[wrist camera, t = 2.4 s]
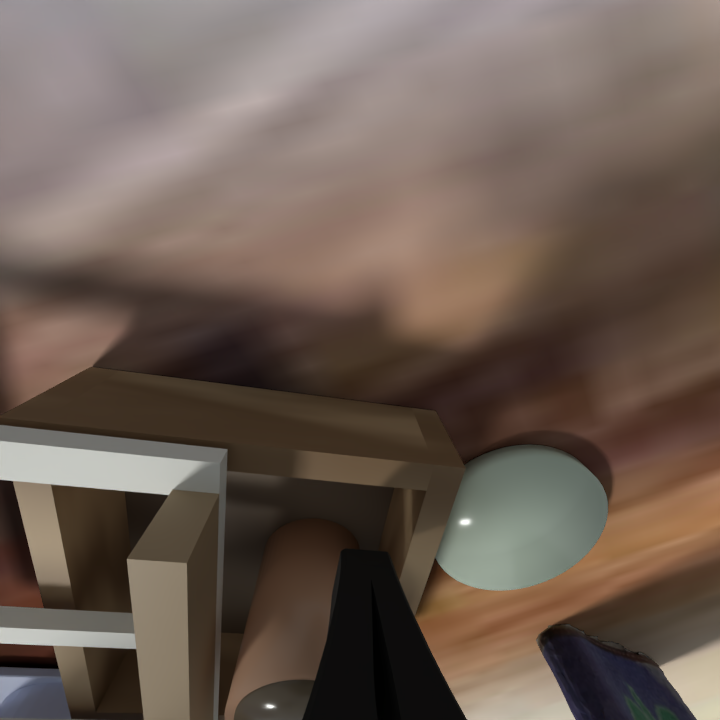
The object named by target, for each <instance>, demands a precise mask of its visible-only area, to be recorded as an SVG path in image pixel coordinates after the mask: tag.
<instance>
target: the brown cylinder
mask: <svg viewBox="0 0 720 720" xmlns="http://www.w3.org/2000/svg"><path fill="white" fill-rule="evenodd" d="M345 548H348V549H359V544H358V542H357V540H356V538H355V537H354V535H353V534H352V533H351V532H350V531H349V530H347V529H346V528H345V527H343V526H341V525H339V524H337V523H335V522H332V521H329V520H325V519H314V518H310V519H301V520H296V521H293V522H290V523H288V524H285V525H284V526H282V527H280V528H279V529H277V530H276V531H275V532H274V533H273V534H272V535H271V536H270V537H269V539H268V541H267V543H266V545H265V549H264V553H263V557H262V561H261V565H260V569H259V573H258V578H257V582H256V586H255V590H254V594H253V598H252V602H251V606H250V610H249V614H248V618H247V622H246V627H245V631H244V635H243V639H242V643H241V647H240V651H239V655H238V659H237V663H236V667H235V671H234V675H233V680H232V684H231V688H230V692H229V696H228V700H227V704H226V708H225V714H224V715H225V720H302V719H303V716H304V713H305V710H306V707H307V704H308V701H309V697H310V694H311V691H312V688H313V685H314V681H315V678H316V675H317V671H318V668H319V664H320V661H321V657H322V654H323V650H324V647H325V644H326V640H327V633H328V626H329V619H330V610H331V599H332V591H333V586H334V581H335V576H336V572H337V567H338V562H339V557H340V552H341V551H342V550H343V549H345Z"/></svg>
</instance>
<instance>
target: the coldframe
mask: <svg viewBox="0 0 720 720" xmlns="http://www.w3.org/2000/svg"><path fill="white" fill-rule="evenodd" d="M0 425H6V426H15V427H25V428H34V429H43V430H53V431H62V432H71V433H81V434H90V435H99V436H109V437H118V438H128V439H137V440H146V441H156V442H165V443H174V444H184V445H193V446H203V447H212V448H221V449H228V451H227V479H226V507H225V535H224V563H223V591H222V620H221V648H220V676H219V704H218V720H225V715H224V714H225V708H226V704H227V700H228V696H229V692H230V688H231V684H232V680H233V675H234V671H235V667H236V663H237V659H238V655H239V651H240V647H241V643H242V639H243V635H244V631H245V627H246V622H247V618H248V614H249V610H250V606H251V602H252V598H253V594H254V590H255V586H256V582H257V578H258V573H259V569H260V565H261V561H262V557H263V553H264V549H265V545H266V543H267V541H268V539H269V537H270V536H271V535H272V534H273V533H274V532H275V531H276V530H277V529H279V528H280V527H282V526H284V525H285V524H288V523H290V522H293V521H296V520H301V519H310V518H314V519H325V520H329V521H332V522H335V523H337V524H339V525H341V526H343V527H345V528H346V529H347V530H349V531H350V532H351V533H352V534H353V535H354V537H355V538H356V540H357V542H358V544H359V549H360V550H373V551H386V552H388V553H389V554H390V557H391V559H392V562H393V565H394V568H395V570H396V573H397V576H398V578H399V581H400V583H401V586H402V588H403V591H404V593H405V596H406V598H407V600H408V603H409V605H410V607H411V610H412V612H413V614H414V616H415V614H416V611H417V608H418V606H419V603H420V600H421V597H422V594H423V591H424V588H425V585H426V582H427V579H428V577H429V574H430V571H431V568H432V565H433V562H434V559H435V556H436V553H437V550H438V548H439V545H440V542H441V539H442V536H443V533H444V530H445V527H446V524H447V521H448V519H449V516H450V513H451V510H452V507H453V504H454V501H455V498H456V495H457V492H458V490H459V487H460V484H461V481H462V478H463V475H464V472H465V469H466V468H465V466H464V464H463V462H462V460H461V458H460V456H459V454H458V452H457V451H456V449H455V447H454V445H453V443H452V441H451V439H450V437H449V435H448V433H447V432H446V430H445V428H444V426H443V424H442V422H441V420H440V418H439V416H438V414H437V413H436V411H433V410H425V409H418V408H410V407H402V406H394V405H386V404H378V403H371V402H363V401H355V400H347V399H339V398H331V397H323V396H316V395H308V394H300V393H292V392H284V391H276V390H268V389H261V388H253V387H245V386H237V385H229V384H221V383H213V382H206V381H198V380H190V379H182V378H174V377H166V376H159V375H151V374H143V373H135V372H127V371H119V370H111V369H104V368H96V367H90V368H88V369H86V370H84V371H82V372H80V373H79V374H77V375H75V376H73V377H71V378H69V379H67V380H66V381H64V382H62V383H60V384H58V385H56V386H54V387H53V388H51V389H49V390H47V391H45V392H43V393H41V394H40V395H38V396H36V397H34V398H32V399H30V400H28V401H26V402H25V403H23V404H21V405H19V406H17V407H15V408H13V409H12V410H10V411H8V412H6V413H4V414H2V415H0ZM13 484H14V488H15V492H16V496H17V500H18V504H19V508H20V512H21V516H22V520H23V524H24V528H25V532H26V537H27V541H28V545H29V549H30V553H31V557H32V561H33V565H34V569H35V573H36V577H37V581H38V585H39V590H40V594H41V598H42V602H43V606H44V608H45V609H64V610H83V611H101V612H120V613H132V604H131V594H130V585H129V575H128V566H127V558H128V556H129V555H130V553H131V552H132V550H133V549H134V547H135V546H136V544H137V543H138V541H139V540H140V538H141V537H142V535H143V534H144V532H145V530H146V529H147V527H148V526H149V524H150V523H151V521H152V520H153V518H154V517H155V515H156V514H157V512H158V511H159V509H160V508H161V506H162V505H163V503H164V502H165V500H166V499H167V497H168V496H169V495H163V494H152V493H141V492H130V491H119V490H108V489H97V488H86V487H75V486H64V485H53V484H42V483H31V482H20V481H13ZM53 647H54V651H55V655H56V659H57V663H58V667H59V671H60V675H61V679H62V683H63V687H64V691H65V695H66V699H67V704H68V708H69V712H70V716H71V719H84V720H144V716H143V707H142V697H141V688H140V679H139V669H138V660H137V650H136V649H124V648H100V647H77V646H53Z"/></svg>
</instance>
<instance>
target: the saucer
mask: <svg viewBox="0 0 720 720" xmlns="http://www.w3.org/2000/svg"><path fill="white" fill-rule="evenodd" d="M464 466H465V468H466V469H465V472H464V475H463V478H462V481H461V484H460V487H459V490H458V492H457V495H456V498H455V501H454V504H453V507H452V510H451V513H450V516H449V519H448V521H447V524H446V527H445V530H444V533H443V536H442V539H441V542H440V545H439V548H438V550H437V553H436V556H435V558H436V560H437V562H438V563H439V565H440V566H441V567H442V569H443V570H444V571H445V572H446V573H448V574H449V575H450V576H451V577H453V578H454V579H456V580H457V581H459V582H461V583H463V584H466V585H469V586H472V587H475V588H480V589H486V590H514V589H520V588H525V587H529V586H533V585H536V584H539V583H542V582H545V581H547V580H549V579H552V578H554V577H556V576H558V575H560V574H561V573H563V572H565V571H566V570H568V569H569V568H571V567H572V566H574V565H575V564H576V563H577V562H579V561H580V560H581V559H582V558H583V557H584V556H585V555H586V554H587V553H588V552H589V551H590V550H591V549H592V547H593V546H594V545H595V543H596V542H597V540H598V539H599V537H600V535H601V533H602V531H603V529H604V527H605V523H606V520H607V514H608V501H607V496H606V493H605V491H604V488H603V486H602V485H601V483H600V482H599V480H598V479H597V478H596V477H595V476H594V475H593V474H592V473H591V472H590V471H589V470H588V469H587V468H586V467H585V466H584V465H583V464H582V463H581V462H580V461H579V460H578V459H576V458H575V457H573V456H572V455H570V454H568V453H566V452H564V451H562V450H559V449H556V448H553V447H549V446H543V445H531V444H529V445H515V446H509V447H504V448H500V449H497V450H493V451H491V452H488V453H486V454H483V455H481V456H479V457H477V458H475V459H473V460H471V461H469V462H468V463H466V464H465V465H464Z"/></svg>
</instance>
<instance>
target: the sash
mask: <svg viewBox="0 0 720 720" xmlns="http://www.w3.org/2000/svg"><path fill="white" fill-rule="evenodd" d="M227 451H228V449H221V448H212V447H203V446H193V445H184V444H174V443H165V442H156V441H146V440H137V439H128V438H118V437H109V436H99V435H90V434H81V433H71V432H62V431H53V430H43V429H34V428H25V427H15V426H6V425H0V480H9V481H20V482H31V483H42V484H53V485H64V486H75V487H86V488H97V489H108V490H119V491H130V492H141V493H152V494H163V495H169V496H168V497H167V499H166V500H165V502H164V503H163V505H162V506H161V508H160V509H159V511H158V512H157V514H156V515H155V517H154V518H153V520H152V521H151V523H150V524H149V526H148V527H147V529H146V530H145V532H144V534H143V535H142V537H141V538H140V540H139V541H138V543H137V544H136V546H135V547H134V549H133V550H132V552H131V553H130V555H129V556H128V558H127V566H128V575H129V585H130V594H131V604H132V613H120V612H101V611H83V610H64V609H45V608H26V607H7V606H0V643H5V644H29V645H53V646H77V647H100V648H124V649H136V650H137V660H138V669H139V679H140V688H141V697H142V707H143V716H144V720H218V704H219V676H220V648H221V620H222V591H223V563H224V535H225V507H226V479H227ZM0 720H84V719H34V718H0Z"/></svg>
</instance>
